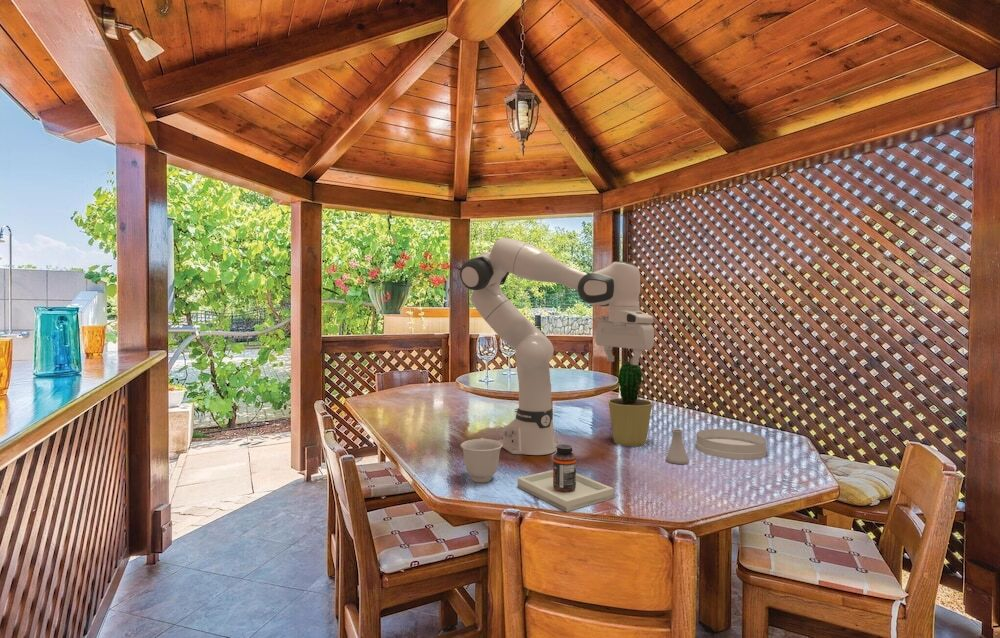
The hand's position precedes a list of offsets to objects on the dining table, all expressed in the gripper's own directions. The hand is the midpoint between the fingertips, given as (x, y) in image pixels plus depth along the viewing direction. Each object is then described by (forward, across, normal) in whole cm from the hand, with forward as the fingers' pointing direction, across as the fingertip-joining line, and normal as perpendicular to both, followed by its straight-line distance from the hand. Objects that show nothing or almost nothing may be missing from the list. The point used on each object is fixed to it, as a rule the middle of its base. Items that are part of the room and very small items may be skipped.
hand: (622, 363), depth 150 cm
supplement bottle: (+32, +4, -24) cm, 41 cm away
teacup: (+34, -17, -37) cm, 53 cm away
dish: (+31, +4, +50) cm, 59 cm away
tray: (+33, +4, -24) cm, 41 cm away
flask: (+32, +3, +24) cm, 40 cm away
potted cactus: (+32, -21, +28) cm, 48 cm away
